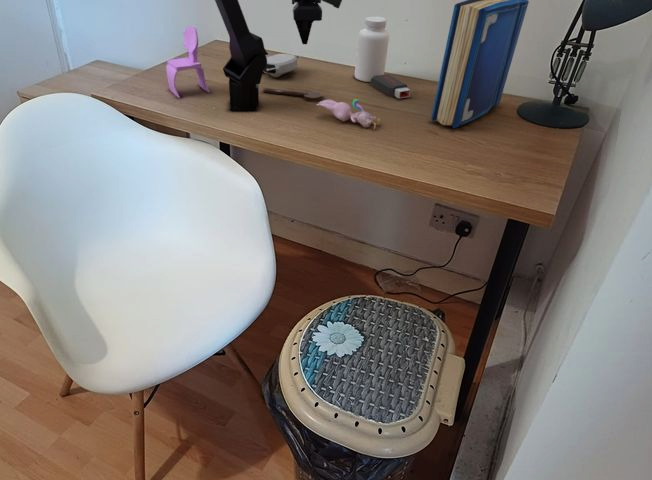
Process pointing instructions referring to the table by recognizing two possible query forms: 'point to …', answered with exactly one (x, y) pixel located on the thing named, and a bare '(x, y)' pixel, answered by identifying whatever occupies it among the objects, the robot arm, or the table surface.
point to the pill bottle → (372, 49)
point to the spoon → (296, 94)
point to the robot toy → (280, 64)
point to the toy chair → (186, 61)
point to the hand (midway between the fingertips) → (304, 43)
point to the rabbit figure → (349, 112)
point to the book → (477, 59)
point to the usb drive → (390, 86)
